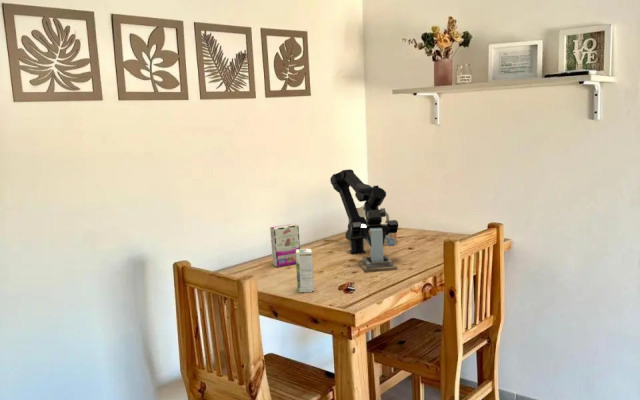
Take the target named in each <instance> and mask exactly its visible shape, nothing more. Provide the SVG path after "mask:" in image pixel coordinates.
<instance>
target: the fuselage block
mask: <svg viewBox="0 0 640 400" xmlns="http://www.w3.org/2000/svg"><path fill="white" fill-rule="evenodd" d="M370 239H371V246H370V245H369V247H370V248H369V250H370V257H371V261H372V263H373V262H384V261H383V256H384V245H383V232H382V229H381V228H370Z"/></svg>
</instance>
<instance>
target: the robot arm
mask: <svg viewBox="0 0 640 400" xmlns="http://www.w3.org/2000/svg"><path fill="white" fill-rule="evenodd" d="M330 184H331V186H332V187H333V190H334V191H336V192H337V193H338V194H339V195H340V198H341V201H342V205H343V207H344V209H345V212H346V215H347V218H348V224H347V230H346V232H345V239H346V240H347V241H349V242H350V241H351V244H350V249H349V251H348V252H349V253H350V254H351V255H362V254H366V253H367V251H366V250H365V245H364V241H363V239H365V240H366V241H367V242H368V244H369V245H368V246H369V247H370V246H371V239H370V235H369V230H370V228H381V229H382V232H383V246H385V245H384V240H385V237H386V235H388V234H389V233H396V234H397V233H398V230H399V222H398V220H397V219H393V220H392V219H389V220H388V222H387V224H381V223H383V222H382V221H383V218H386V212H387V211H386V208H385V207H382V208H380V209H379V207H380V206H381V205H382V204H383V202H384V200H385V198H386V196H387V192H386V191H385V190H384V189H383V188H382V187H379V185H373V186H371V185H370V184H366V183H364V182H363V180H361V179H360V177H358V176H357V175H356V173H355V171H354V170H353V169H352V168H351V169H349V168H348V169H343V170H340V172H337V173H333V174H332V176H331V177H330ZM350 187H351V188H352V190H353V191H354V192H355V194H354V196H355V198H356V199H357V201H358V202H360V203H361V202H362V203H363V202H364V204H363V205H364V208H363V209H364V210H365V216H366V220H365V218H364V217H360V216H359V214H358V211H357V208H358V207H357V206H356V204H355V200H354V198H353V195H352V193H351V190H350ZM381 217H382V219H381Z"/></svg>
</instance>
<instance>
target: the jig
mask: <svg viewBox="0 0 640 400" xmlns="http://www.w3.org/2000/svg"><path fill="white" fill-rule="evenodd" d="M361 259H362V261H358V262H357V263H358V266H359V267H360V269H361V270H362V272H363V273H376V272H388V271H398V266H397V265H396V264H394V262H393V260H392V259H390V258H389V257H388V256H387V255H383V261H384V262H373V263H372V261H371V256H366V257H364V256H363V257H362V258H361Z"/></svg>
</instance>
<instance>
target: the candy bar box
mask: <svg viewBox="0 0 640 400" xmlns="http://www.w3.org/2000/svg"><path fill="white" fill-rule="evenodd" d="M269 229H270V243H271V253H272V255H271V256H272V266H273V267H276V268H282V267H287V266H292V265H296V250H297V249H301V244H300V232H299V231H300V228H299V225H298V224H296V223H290V224H284V225H278V226H271V227H270V228H269Z"/></svg>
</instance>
